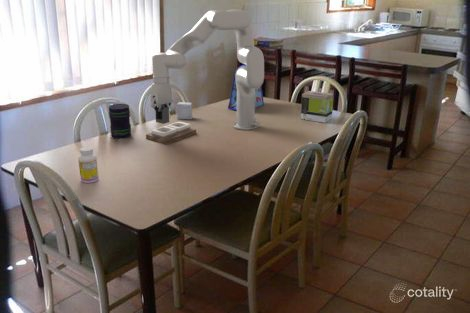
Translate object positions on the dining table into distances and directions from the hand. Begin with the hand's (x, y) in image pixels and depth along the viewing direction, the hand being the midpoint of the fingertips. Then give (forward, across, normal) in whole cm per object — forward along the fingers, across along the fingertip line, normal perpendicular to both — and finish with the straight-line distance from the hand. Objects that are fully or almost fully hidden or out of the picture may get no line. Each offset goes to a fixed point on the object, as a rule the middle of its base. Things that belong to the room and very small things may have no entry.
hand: (162, 117), depth 217 cm
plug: (+2, 0, 0) cm, 2 cm away
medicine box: (+10, -33, -16) cm, 38 cm away
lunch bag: (+10, -74, -3) cm, 74 cm away
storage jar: (+11, +9, -20) cm, 24 cm away
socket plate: (+8, -6, -1) cm, 10 cm away
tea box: (+9, -77, +43) cm, 88 cm away
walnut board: (+10, -6, 0) cm, 12 cm away
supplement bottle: (+12, +52, +13) cm, 55 cm away
